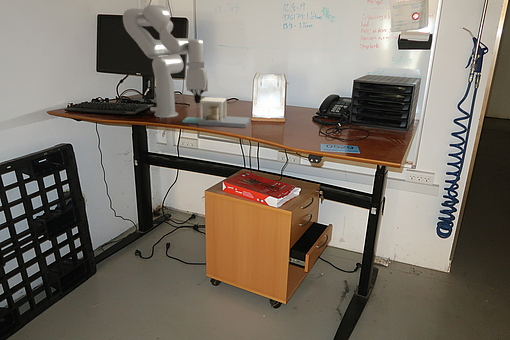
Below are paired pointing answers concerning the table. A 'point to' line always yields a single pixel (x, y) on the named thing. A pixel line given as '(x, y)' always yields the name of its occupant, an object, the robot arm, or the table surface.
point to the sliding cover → (213, 102)
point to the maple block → (213, 113)
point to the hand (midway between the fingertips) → (197, 102)
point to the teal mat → (191, 120)
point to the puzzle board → (226, 122)
